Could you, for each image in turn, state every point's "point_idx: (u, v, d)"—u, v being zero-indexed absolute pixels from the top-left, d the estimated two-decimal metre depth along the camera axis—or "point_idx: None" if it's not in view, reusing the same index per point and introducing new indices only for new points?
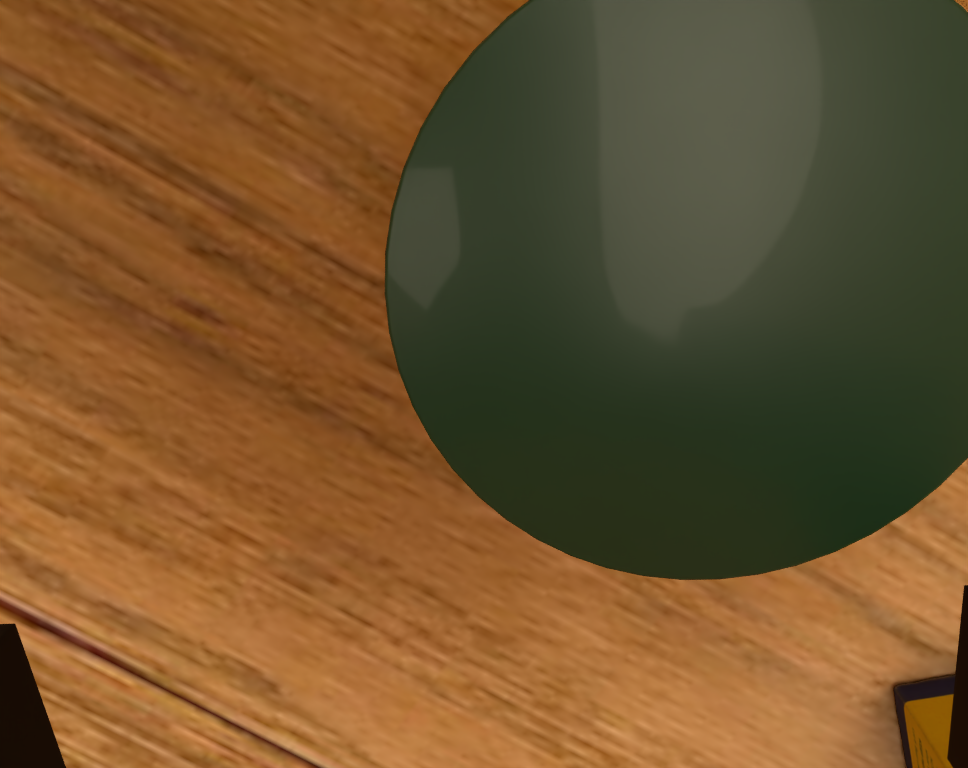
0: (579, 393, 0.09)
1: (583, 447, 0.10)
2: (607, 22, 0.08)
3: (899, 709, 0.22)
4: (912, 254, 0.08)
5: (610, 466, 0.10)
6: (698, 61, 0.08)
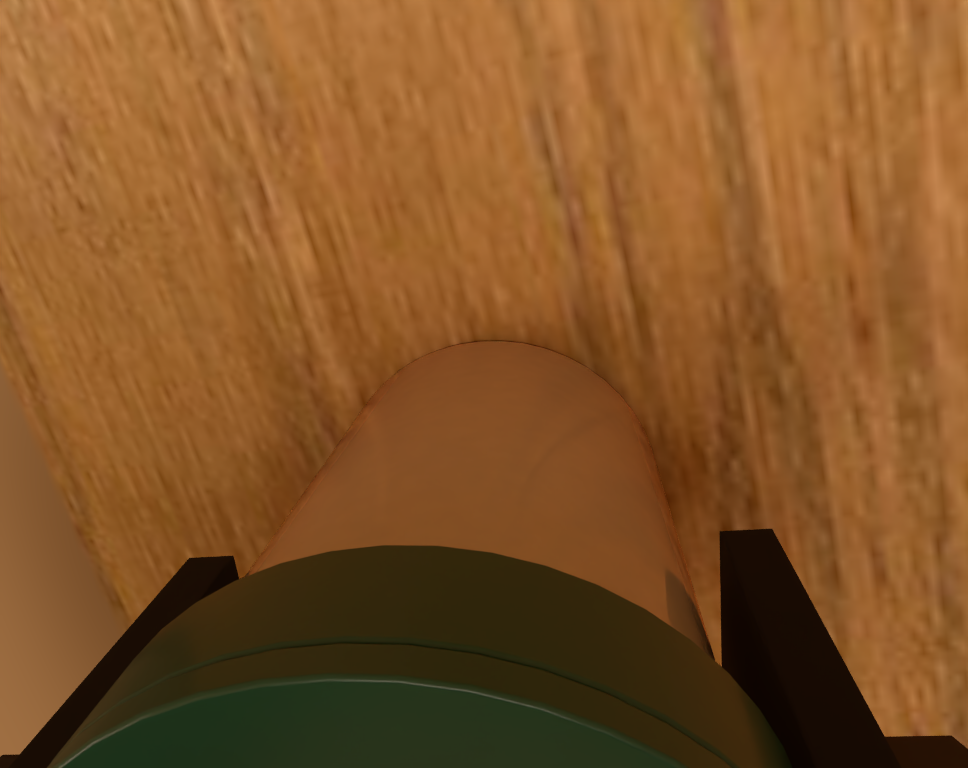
0: None
1: None
2: None
3: None
4: None
5: None
6: None
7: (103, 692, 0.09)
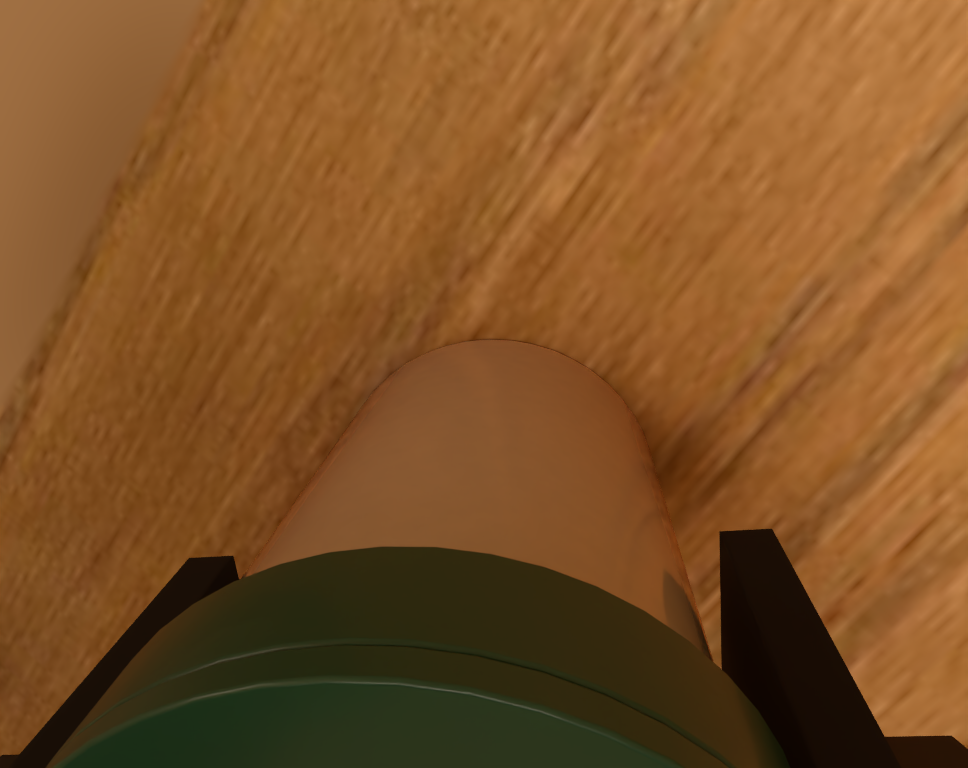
0: None
1: None
2: None
3: None
4: None
5: None
6: None
7: (103, 692, 0.09)
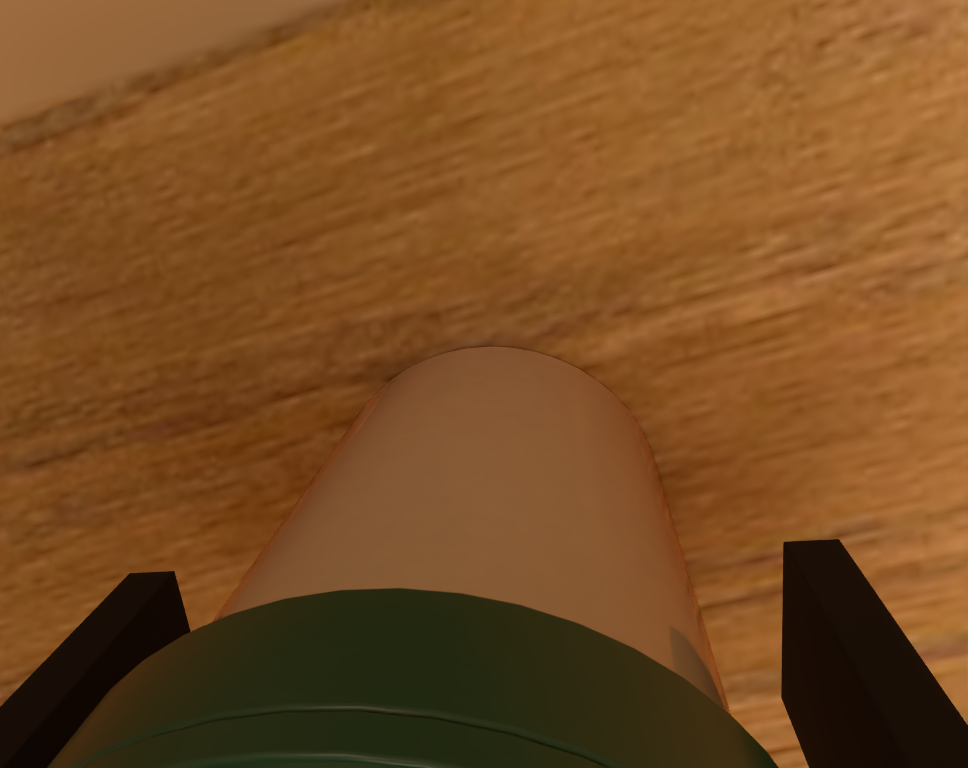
0: None
1: None
2: None
3: None
4: None
5: None
6: None
7: (21, 716, 0.09)
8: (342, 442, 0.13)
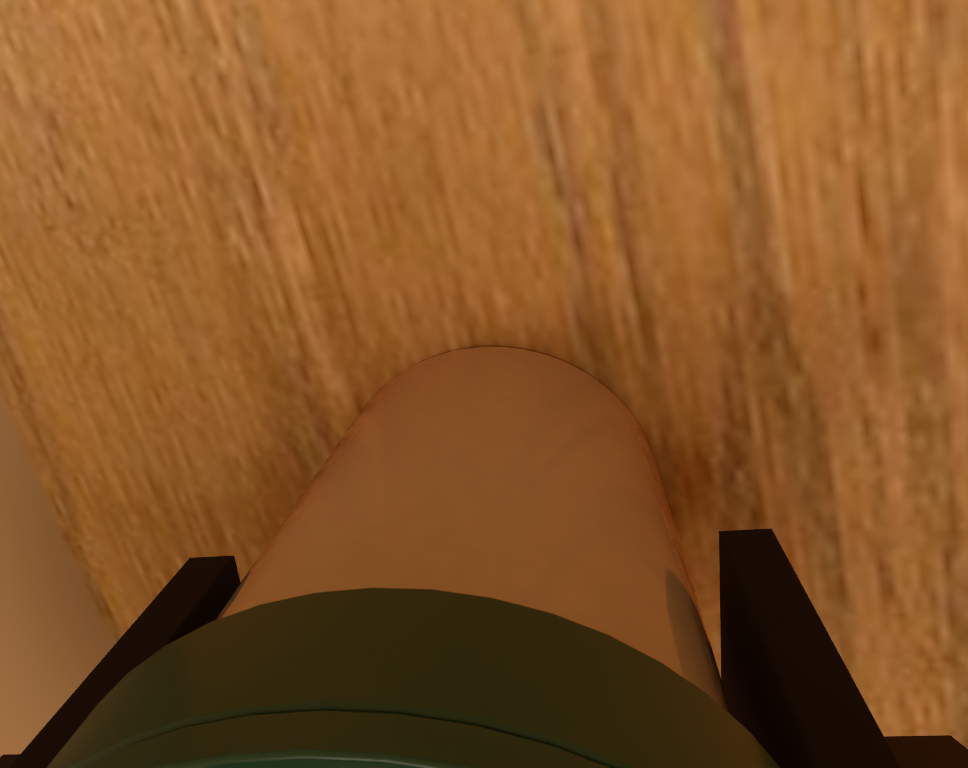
0: None
1: None
2: None
3: None
4: None
5: None
6: None
7: (104, 692, 0.09)
8: None
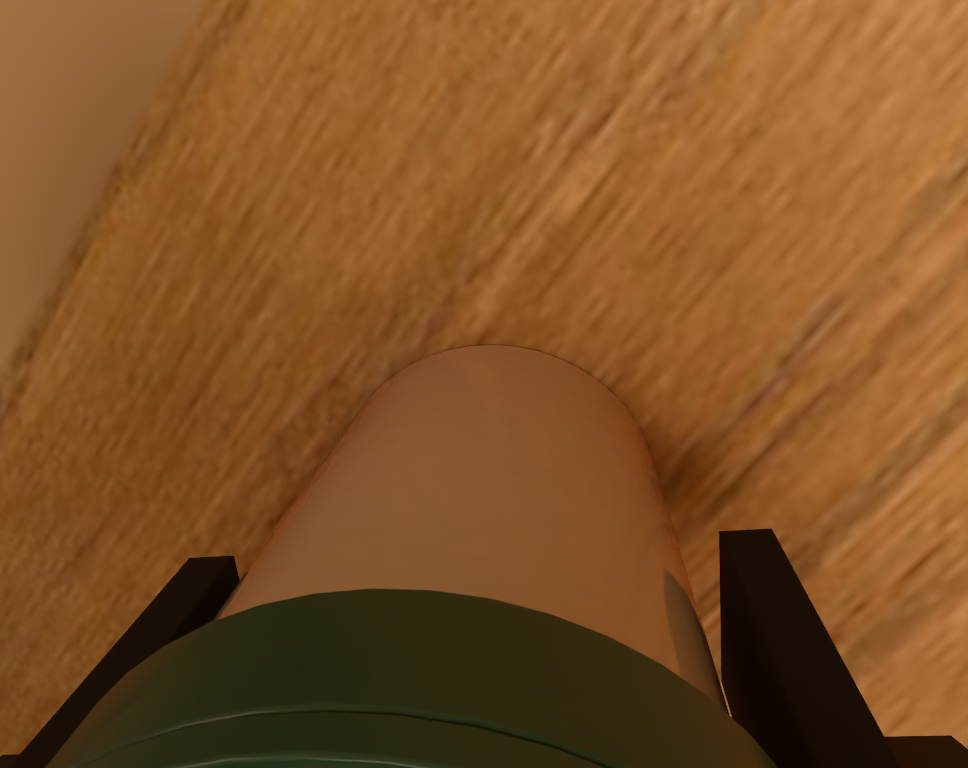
0: None
1: None
2: None
3: None
4: None
5: None
6: None
7: (103, 692, 0.09)
8: None
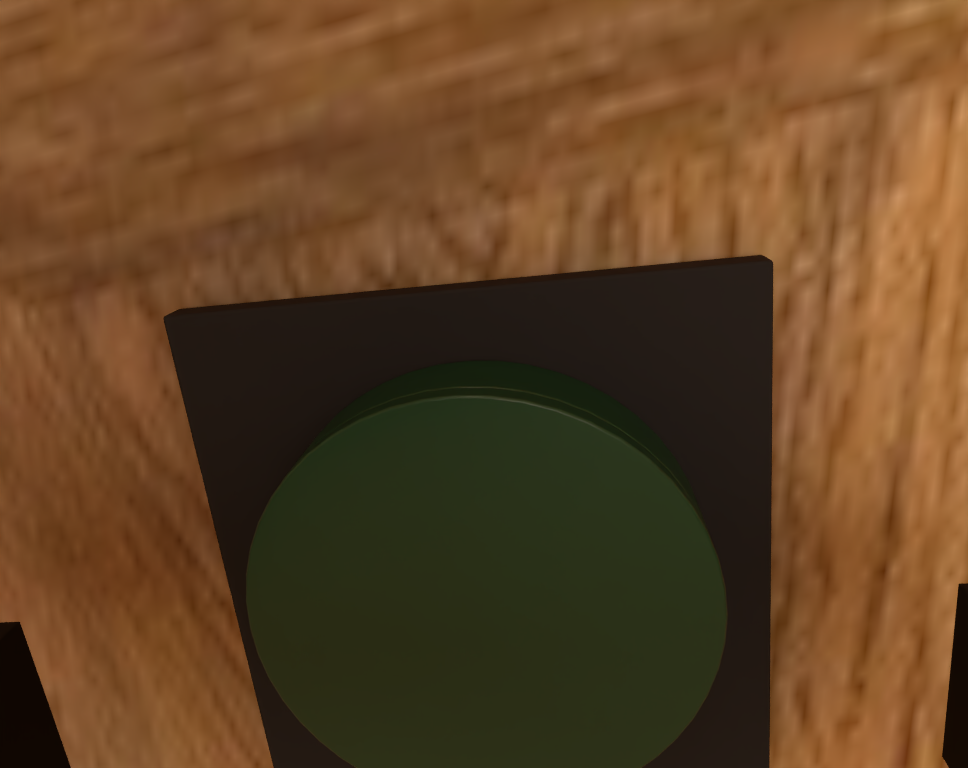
0: (493, 518, 0.11)
1: (456, 487, 0.11)
2: (661, 702, 0.12)
3: None
4: (403, 714, 0.13)
5: (428, 490, 0.11)
6: (598, 717, 0.12)
7: None
8: None
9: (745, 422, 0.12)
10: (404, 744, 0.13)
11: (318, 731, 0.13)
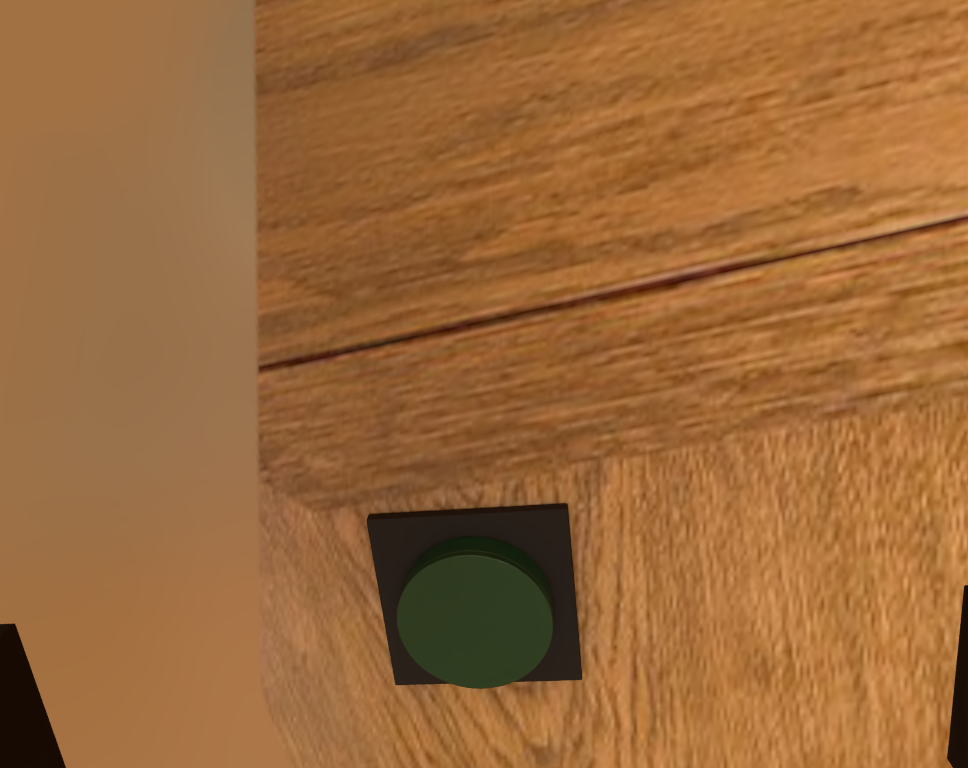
0: (478, 591, 0.36)
1: (466, 582, 0.36)
2: (533, 650, 0.37)
3: None
4: (448, 655, 0.37)
5: (458, 582, 0.36)
6: (513, 655, 0.37)
7: None
8: None
9: (562, 557, 0.37)
10: (448, 665, 0.38)
11: (419, 661, 0.38)
